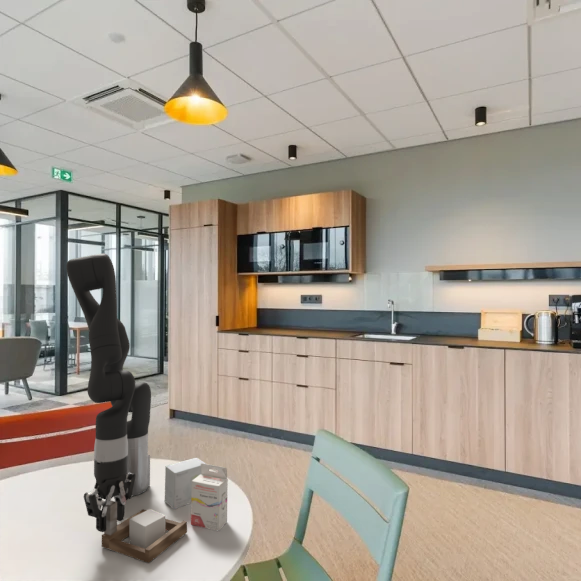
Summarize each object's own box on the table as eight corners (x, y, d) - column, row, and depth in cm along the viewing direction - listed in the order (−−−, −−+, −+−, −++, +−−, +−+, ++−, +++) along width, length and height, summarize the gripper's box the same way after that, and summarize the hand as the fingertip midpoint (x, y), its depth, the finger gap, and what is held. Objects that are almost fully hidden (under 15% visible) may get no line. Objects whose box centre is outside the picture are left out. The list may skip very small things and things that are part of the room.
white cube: (129, 543, 103) (129, 518, 103) (149, 532, 108) (150, 508, 108) (144, 552, 100) (145, 526, 100) (165, 540, 104) (165, 515, 105)
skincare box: (174, 510, 119) (174, 472, 119) (164, 501, 124) (164, 465, 124) (206, 498, 126) (207, 462, 126) (195, 490, 131) (196, 456, 131)
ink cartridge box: (189, 525, 111) (190, 469, 111) (199, 516, 116) (200, 462, 116) (219, 531, 108) (219, 474, 108) (228, 522, 113) (228, 466, 113)
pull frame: (142, 519, 113) (143, 482, 113) (186, 532, 107) (187, 493, 107) (101, 546, 101) (102, 505, 101) (148, 563, 95) (149, 519, 95)
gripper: (122, 442, 110) (122, 508, 110) (74, 462, 97) (73, 537, 97) (144, 447, 107) (144, 514, 107) (98, 468, 94) (97, 545, 94)
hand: (110, 525), depth 102 cm, fingers open, 4 cm apart
